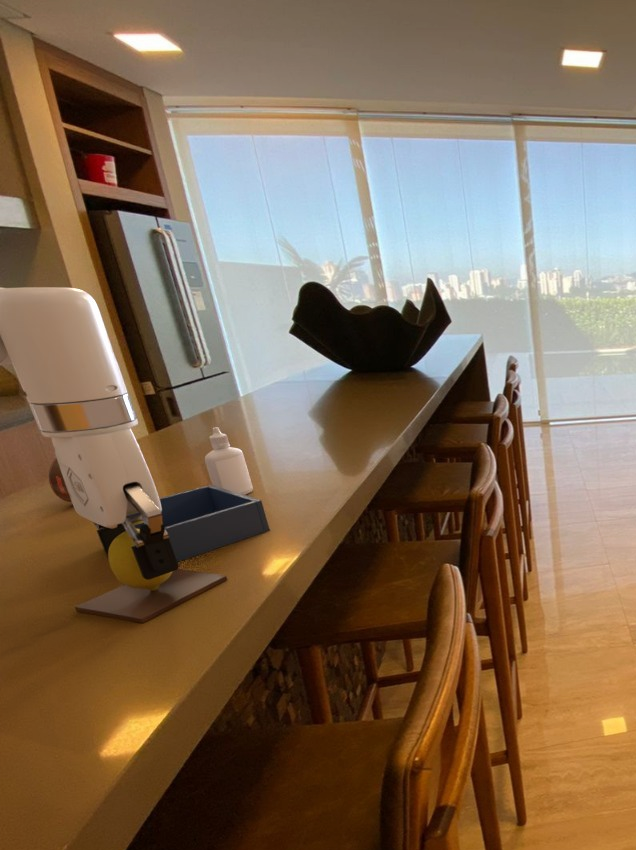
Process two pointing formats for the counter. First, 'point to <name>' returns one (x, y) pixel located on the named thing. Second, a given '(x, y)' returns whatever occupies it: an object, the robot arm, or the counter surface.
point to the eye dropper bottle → (227, 465)
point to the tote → (209, 519)
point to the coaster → (151, 597)
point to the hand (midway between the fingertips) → (143, 564)
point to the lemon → (130, 564)
